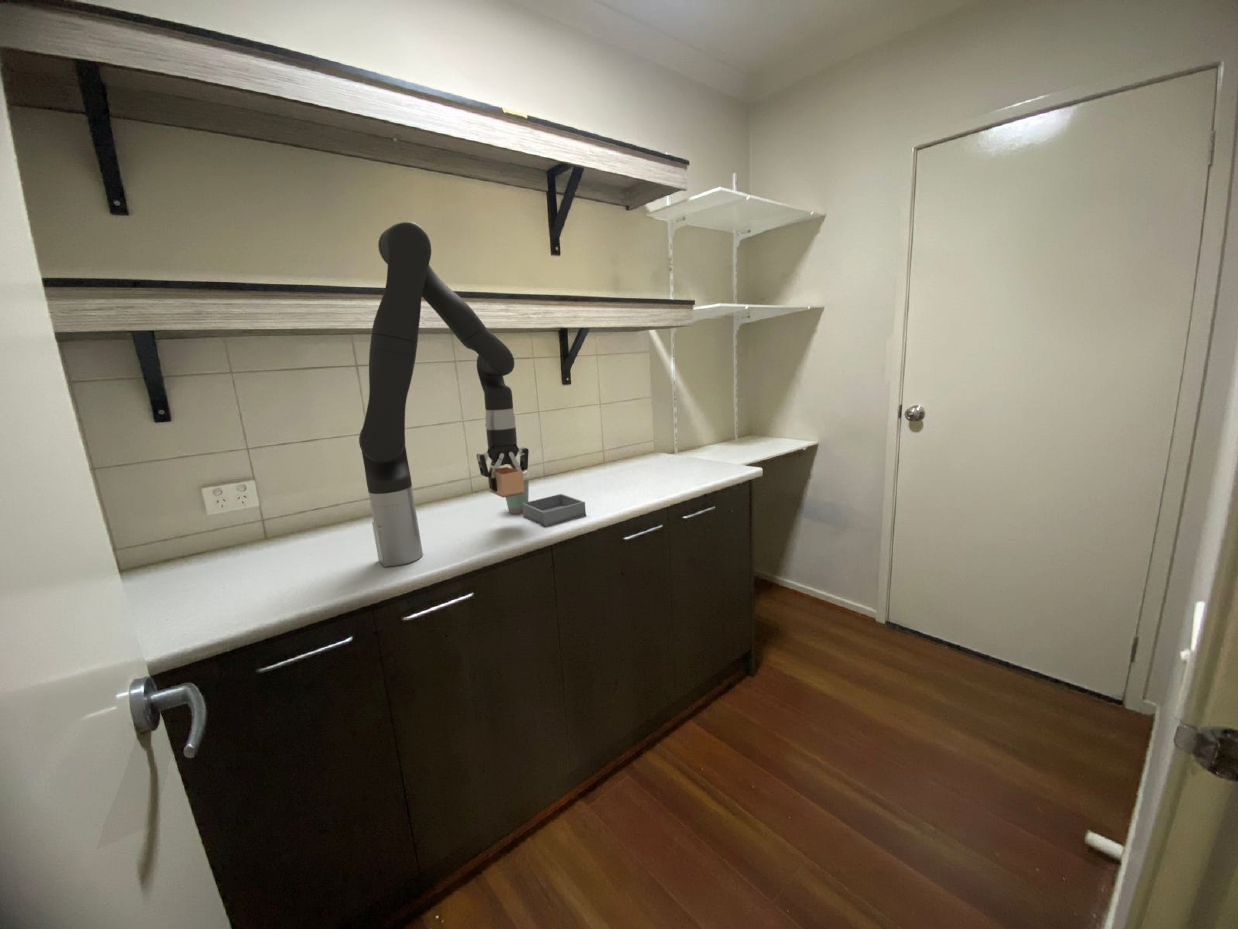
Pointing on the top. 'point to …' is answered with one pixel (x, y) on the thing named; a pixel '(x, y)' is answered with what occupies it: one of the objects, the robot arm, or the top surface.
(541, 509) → the big crate
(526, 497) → the coffee cup
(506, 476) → the small crate
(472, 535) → the top surface
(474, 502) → the top surface
